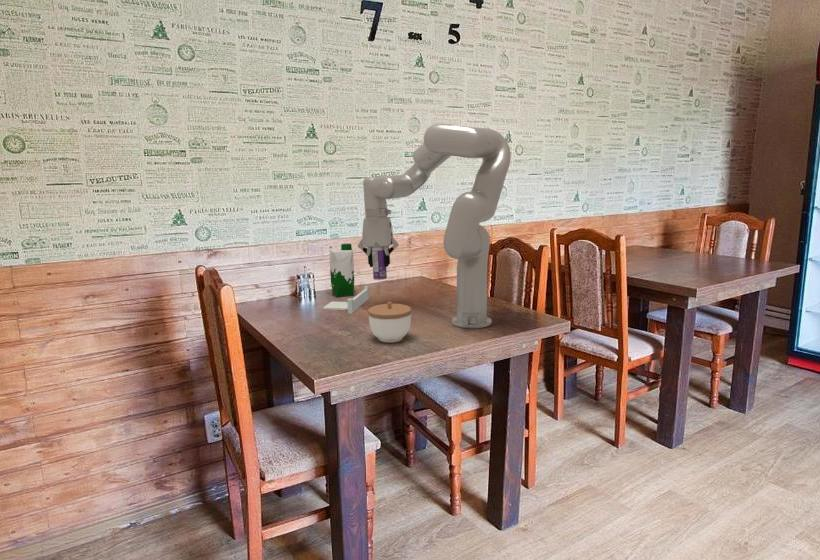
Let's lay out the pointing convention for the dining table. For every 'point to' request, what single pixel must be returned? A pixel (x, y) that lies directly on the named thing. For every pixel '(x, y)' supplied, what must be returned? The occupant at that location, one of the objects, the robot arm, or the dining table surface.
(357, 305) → the acrylic wall
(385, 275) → the container
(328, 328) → the dining table surface
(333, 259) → the milk carton
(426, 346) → the dining table surface
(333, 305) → the white pad
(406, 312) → the lidded bowl
